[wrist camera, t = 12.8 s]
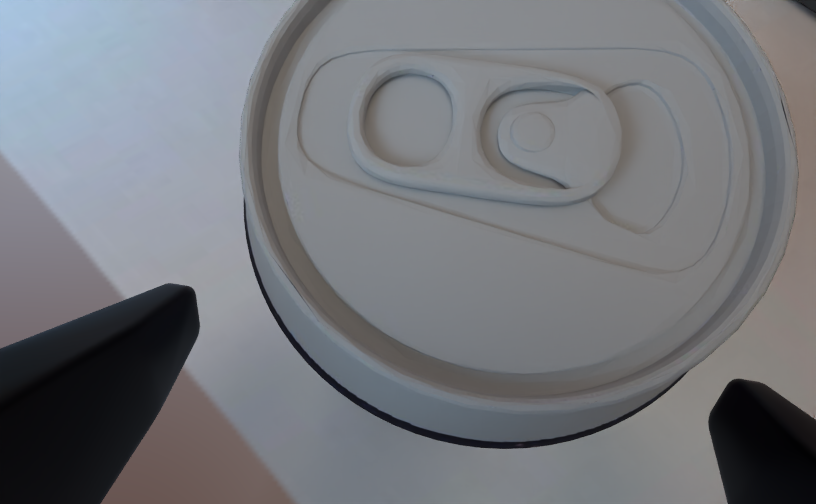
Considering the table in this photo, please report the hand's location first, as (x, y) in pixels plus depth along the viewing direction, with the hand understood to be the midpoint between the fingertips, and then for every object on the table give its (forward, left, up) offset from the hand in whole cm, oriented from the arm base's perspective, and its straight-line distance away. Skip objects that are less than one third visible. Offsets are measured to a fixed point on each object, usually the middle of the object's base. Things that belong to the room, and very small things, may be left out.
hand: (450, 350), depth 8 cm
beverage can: (+2, 0, -8) cm, 8 cm away
